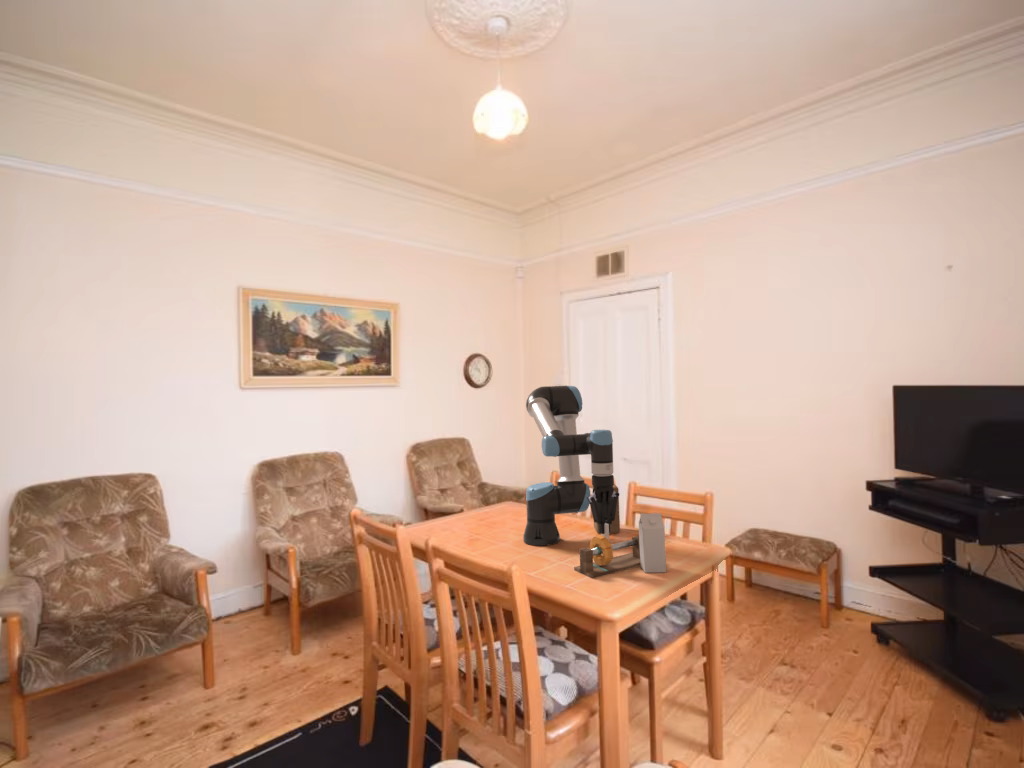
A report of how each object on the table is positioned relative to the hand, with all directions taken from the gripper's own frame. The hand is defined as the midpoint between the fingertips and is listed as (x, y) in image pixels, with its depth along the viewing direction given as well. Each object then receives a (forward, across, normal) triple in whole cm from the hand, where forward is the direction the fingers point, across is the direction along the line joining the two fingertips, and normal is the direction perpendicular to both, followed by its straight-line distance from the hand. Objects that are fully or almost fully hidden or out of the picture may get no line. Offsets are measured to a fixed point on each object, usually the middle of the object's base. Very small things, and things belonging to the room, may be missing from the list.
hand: (605, 542), depth 178 cm
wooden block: (+9, +32, +36) cm, 49 cm away
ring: (+7, -2, 0) cm, 7 cm away
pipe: (+4, +4, 0) cm, 5 cm away
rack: (+9, +4, 0) cm, 10 cm away
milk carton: (+9, +12, -10) cm, 18 cm away
